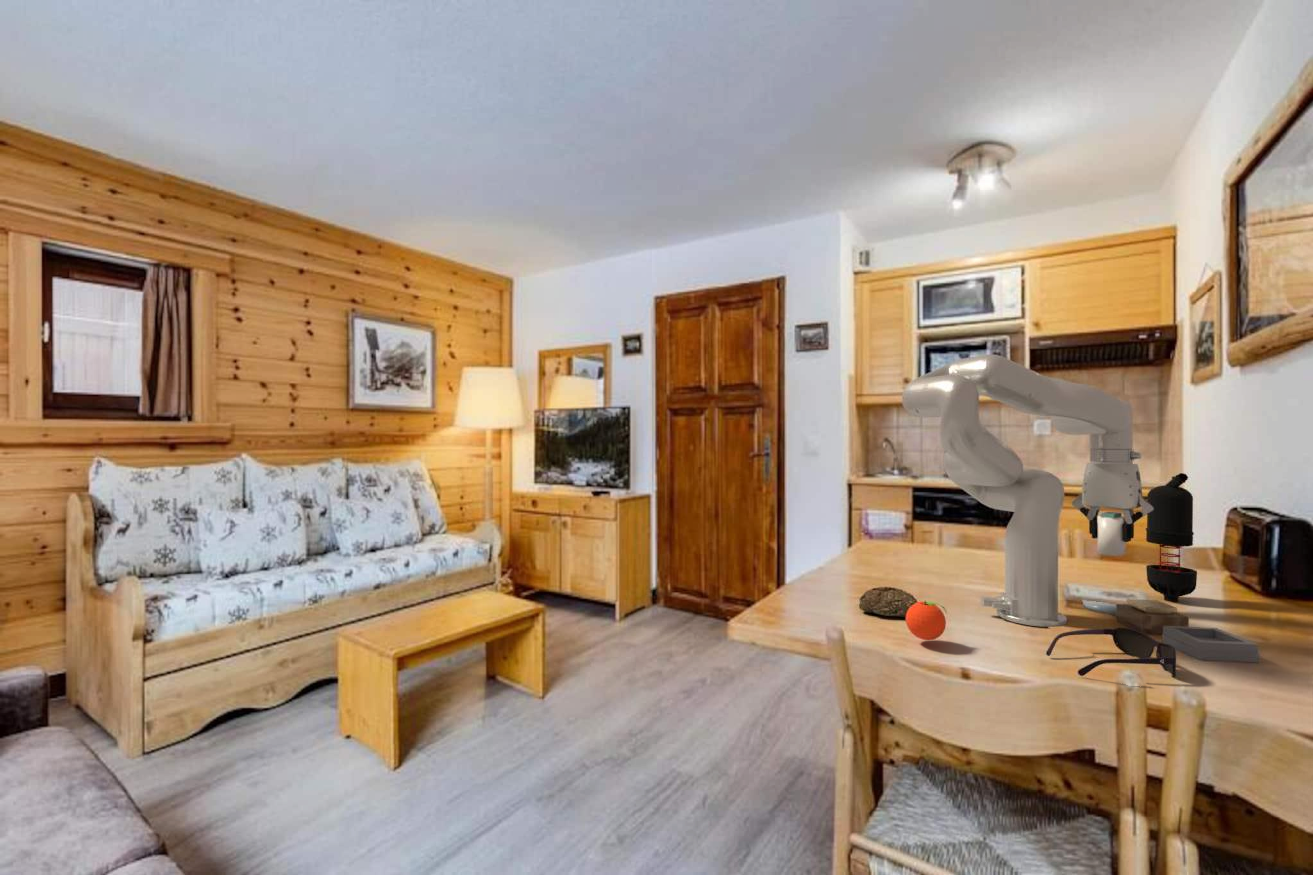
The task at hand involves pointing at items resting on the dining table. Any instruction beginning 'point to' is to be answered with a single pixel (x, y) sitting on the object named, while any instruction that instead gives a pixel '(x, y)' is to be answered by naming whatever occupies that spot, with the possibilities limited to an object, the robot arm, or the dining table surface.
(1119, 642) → the sunglasses
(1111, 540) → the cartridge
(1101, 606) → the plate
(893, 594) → the dark brown domed lump
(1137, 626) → the button housing
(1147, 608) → the button
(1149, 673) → the dining table surface
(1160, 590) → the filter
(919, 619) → the clementine
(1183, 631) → the socket
